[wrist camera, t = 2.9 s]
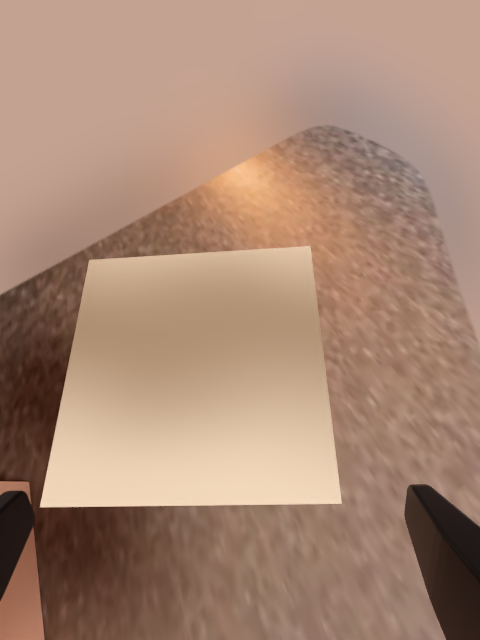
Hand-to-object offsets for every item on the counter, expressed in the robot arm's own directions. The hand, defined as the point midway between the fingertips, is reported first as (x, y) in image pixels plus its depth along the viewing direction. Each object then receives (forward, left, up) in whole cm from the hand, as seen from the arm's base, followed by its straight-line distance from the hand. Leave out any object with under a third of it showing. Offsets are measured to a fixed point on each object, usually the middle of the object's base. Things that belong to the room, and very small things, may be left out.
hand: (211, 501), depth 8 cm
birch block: (+2, -1, -10) cm, 10 cm away
